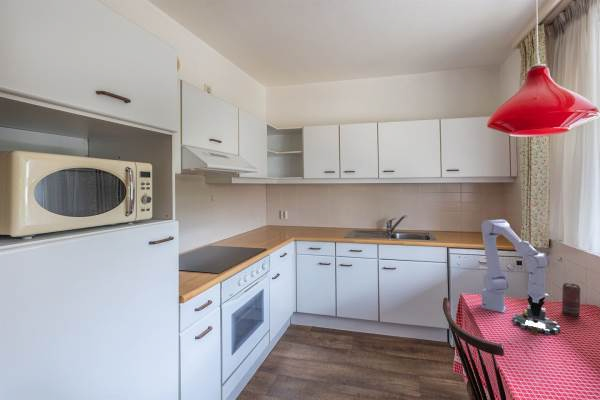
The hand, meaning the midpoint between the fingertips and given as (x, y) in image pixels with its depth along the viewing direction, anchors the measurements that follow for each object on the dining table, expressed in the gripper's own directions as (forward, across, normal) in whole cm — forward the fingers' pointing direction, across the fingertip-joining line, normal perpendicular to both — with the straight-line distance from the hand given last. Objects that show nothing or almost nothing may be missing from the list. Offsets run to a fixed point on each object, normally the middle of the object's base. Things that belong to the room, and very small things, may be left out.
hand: (535, 314), depth 128 cm
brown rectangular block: (+6, -6, 0) cm, 9 cm away
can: (+7, +27, -12) cm, 30 cm away
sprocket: (+6, +4, 0) cm, 8 cm away
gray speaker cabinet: (+2, 0, 0) cm, 2 cm away
